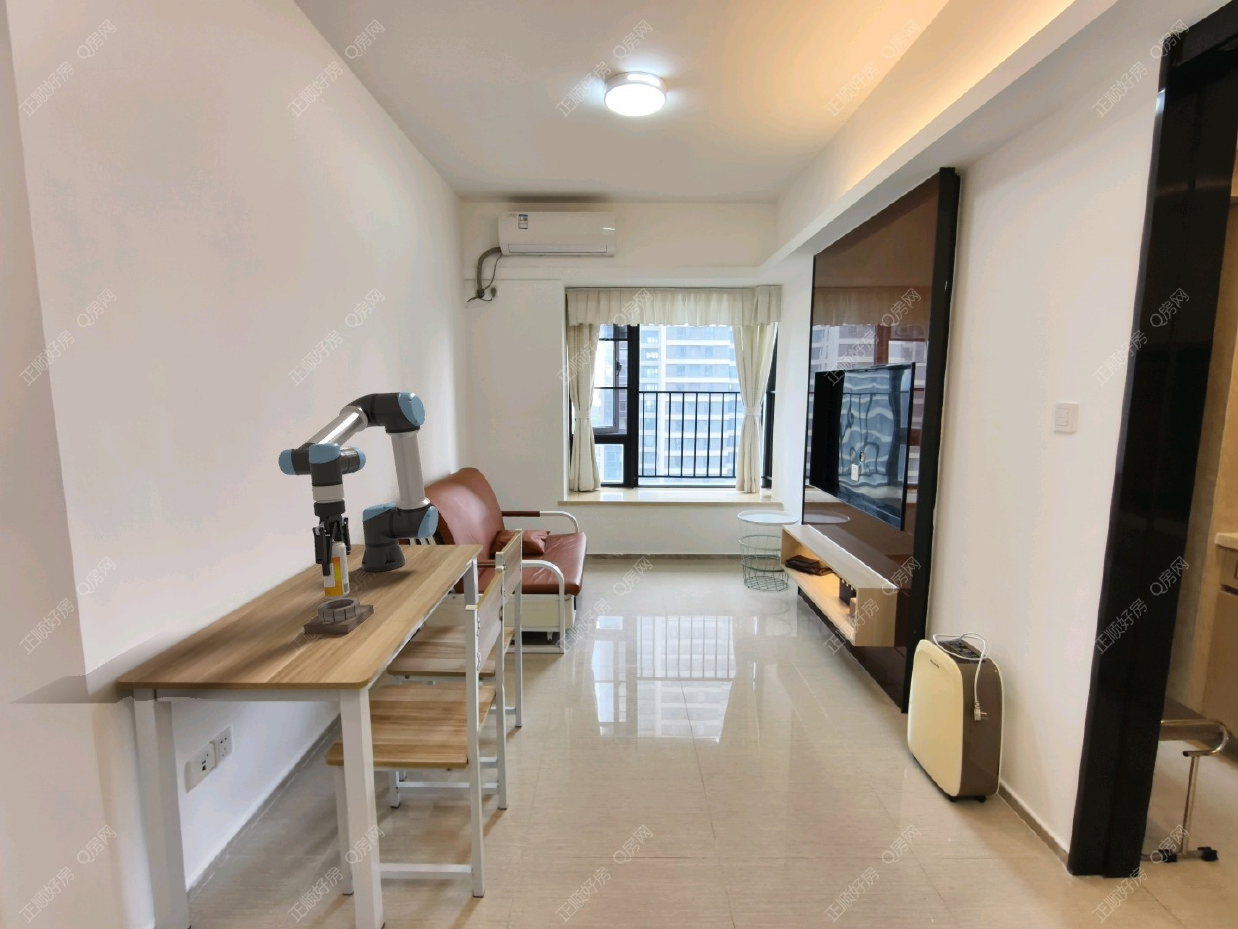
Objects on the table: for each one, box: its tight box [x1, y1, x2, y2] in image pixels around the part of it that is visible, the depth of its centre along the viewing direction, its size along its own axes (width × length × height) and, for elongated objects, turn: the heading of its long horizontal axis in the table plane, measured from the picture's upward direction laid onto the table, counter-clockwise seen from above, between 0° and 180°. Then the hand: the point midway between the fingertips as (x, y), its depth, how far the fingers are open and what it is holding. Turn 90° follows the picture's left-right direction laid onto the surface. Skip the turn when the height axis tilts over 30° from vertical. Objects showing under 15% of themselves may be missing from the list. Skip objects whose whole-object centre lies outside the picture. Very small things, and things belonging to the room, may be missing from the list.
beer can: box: [323, 541, 350, 600], centre depth 152 cm, size 6×6×15 cm
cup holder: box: [303, 596, 374, 635], centre depth 153 cm, size 14×12×6 cm
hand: (336, 582), depth 152 cm, fingers closed on beer can, 6 cm apart
